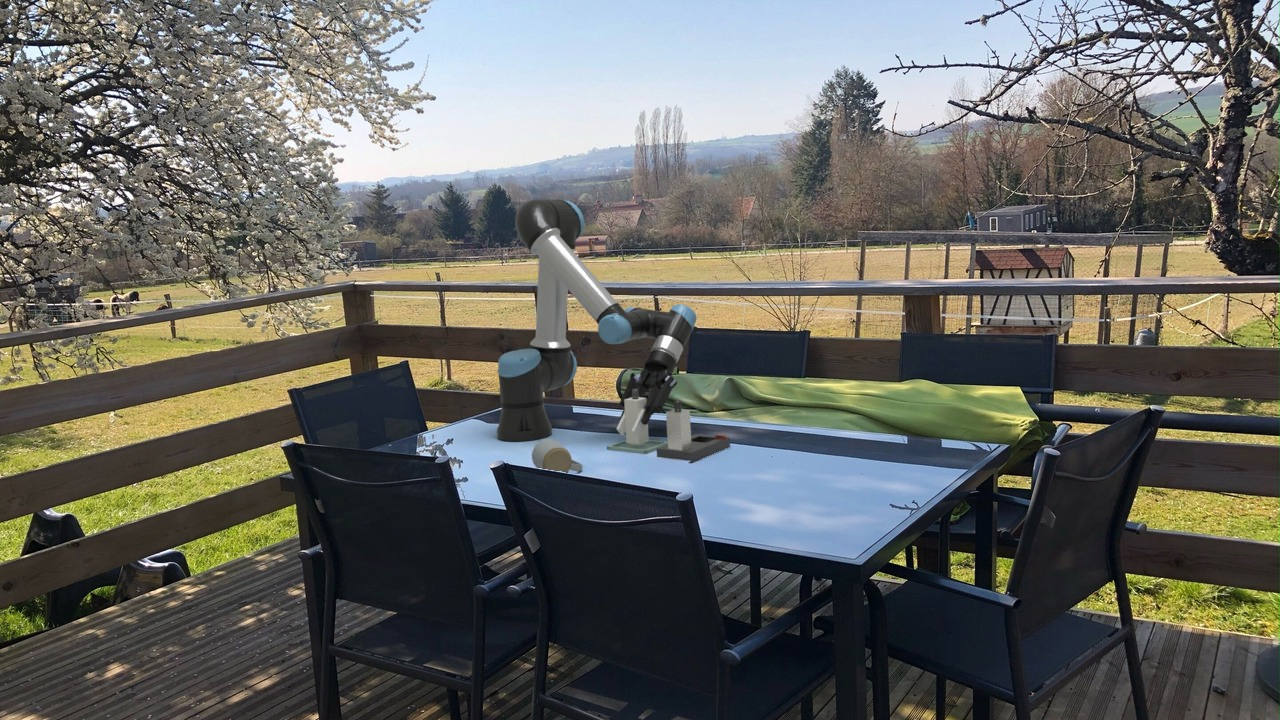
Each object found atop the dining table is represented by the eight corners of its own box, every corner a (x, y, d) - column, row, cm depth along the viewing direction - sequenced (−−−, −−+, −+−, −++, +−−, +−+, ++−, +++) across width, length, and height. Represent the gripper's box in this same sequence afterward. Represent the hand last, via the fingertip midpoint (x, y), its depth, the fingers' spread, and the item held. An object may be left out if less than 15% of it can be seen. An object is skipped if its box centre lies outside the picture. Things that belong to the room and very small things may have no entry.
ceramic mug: (544, 481, 198) (542, 447, 197) (532, 473, 205) (530, 440, 204) (588, 474, 202) (586, 441, 201) (575, 466, 210) (573, 434, 209)
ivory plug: (626, 443, 222) (623, 390, 220) (635, 439, 225) (633, 387, 223) (639, 444, 220) (636, 391, 218) (648, 441, 223) (646, 388, 221)
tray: (607, 451, 222) (606, 446, 222) (631, 443, 230) (630, 437, 230) (645, 456, 215) (645, 450, 215) (669, 447, 223) (669, 442, 223)
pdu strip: (657, 458, 212) (653, 401, 210) (695, 443, 225) (693, 389, 224) (692, 463, 206) (689, 404, 204) (730, 447, 219) (727, 391, 218)
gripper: (697, 367, 227) (662, 445, 216) (643, 364, 237) (607, 437, 227) (685, 349, 222) (649, 428, 211) (630, 347, 232) (593, 421, 222)
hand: (627, 432), depth 219 cm, fingers closed on ivory plug, 4 cm apart
